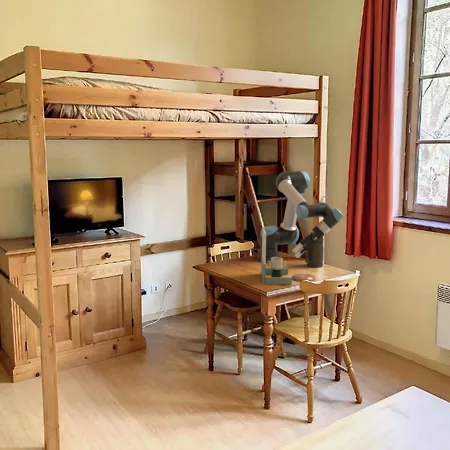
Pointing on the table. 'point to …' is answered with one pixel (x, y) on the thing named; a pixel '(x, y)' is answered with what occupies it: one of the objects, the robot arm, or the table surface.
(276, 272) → the character mug
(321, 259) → the beer stein
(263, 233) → the grey-green stand
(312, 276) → the terracotta saucer
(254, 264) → the table surface
